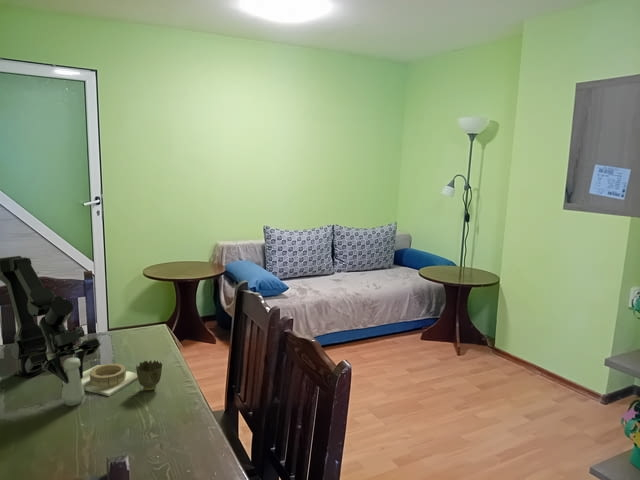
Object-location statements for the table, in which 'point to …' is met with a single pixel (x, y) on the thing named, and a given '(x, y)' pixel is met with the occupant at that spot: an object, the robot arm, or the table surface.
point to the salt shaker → (72, 383)
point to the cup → (149, 374)
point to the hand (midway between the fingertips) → (74, 380)
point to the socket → (107, 379)
